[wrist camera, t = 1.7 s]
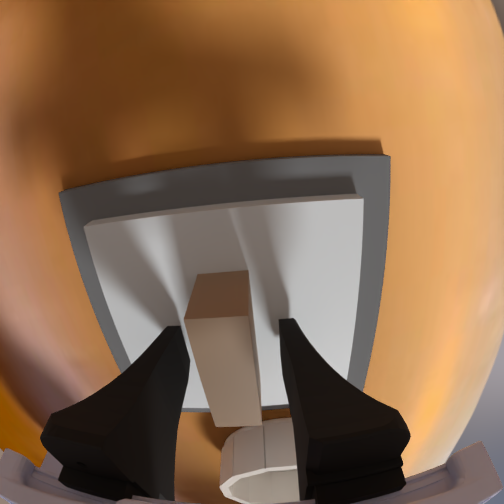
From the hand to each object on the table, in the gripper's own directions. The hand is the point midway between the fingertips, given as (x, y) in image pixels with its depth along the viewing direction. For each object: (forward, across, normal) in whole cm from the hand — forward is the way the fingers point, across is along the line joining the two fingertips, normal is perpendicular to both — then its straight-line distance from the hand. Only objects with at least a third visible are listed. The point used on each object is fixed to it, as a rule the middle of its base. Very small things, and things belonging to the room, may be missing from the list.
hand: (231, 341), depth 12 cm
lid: (+1, 0, 0) cm, 1 cm away
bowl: (+2, -2, +14) cm, 14 cm away
